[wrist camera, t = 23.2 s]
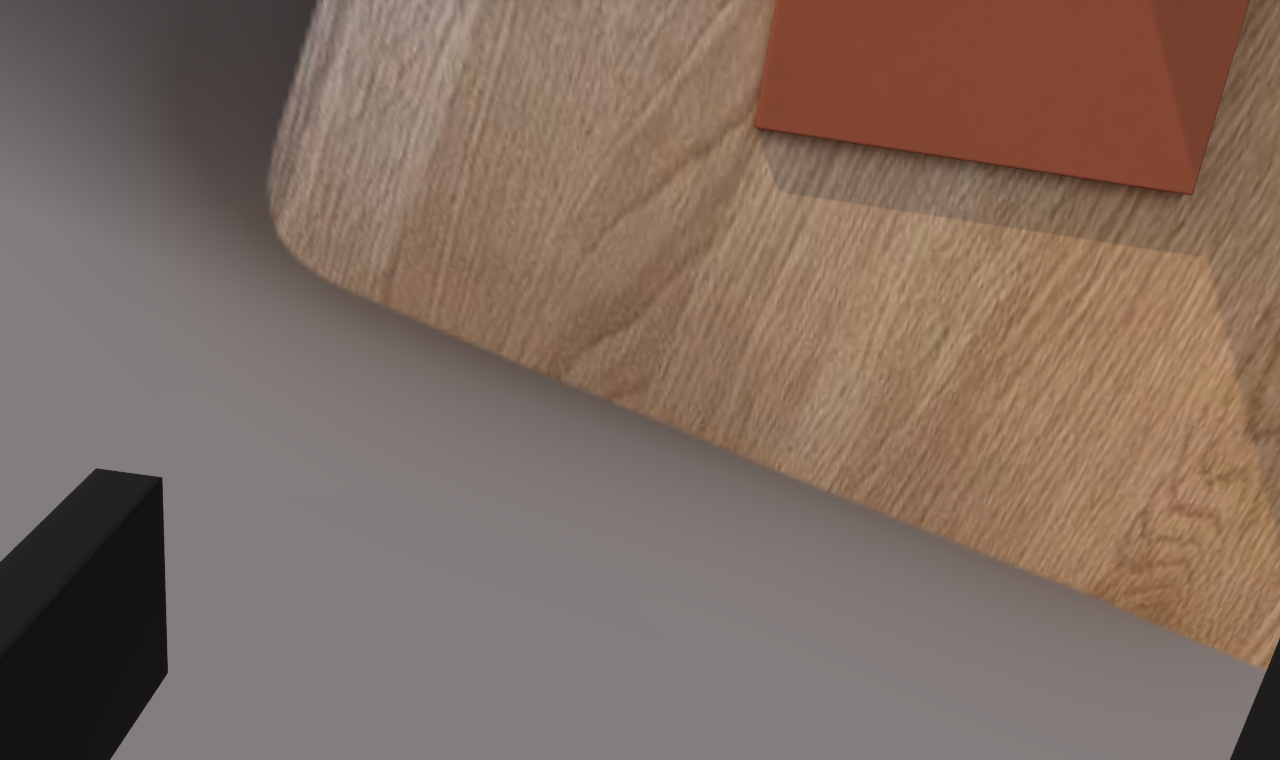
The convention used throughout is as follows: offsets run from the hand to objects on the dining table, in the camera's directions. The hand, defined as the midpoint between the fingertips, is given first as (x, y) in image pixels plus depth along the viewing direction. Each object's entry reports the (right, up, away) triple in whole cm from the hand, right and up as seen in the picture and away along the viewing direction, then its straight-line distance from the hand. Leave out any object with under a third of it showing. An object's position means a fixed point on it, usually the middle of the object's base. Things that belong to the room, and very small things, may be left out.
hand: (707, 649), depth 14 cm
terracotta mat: (+11, +16, +22) cm, 29 cm away
